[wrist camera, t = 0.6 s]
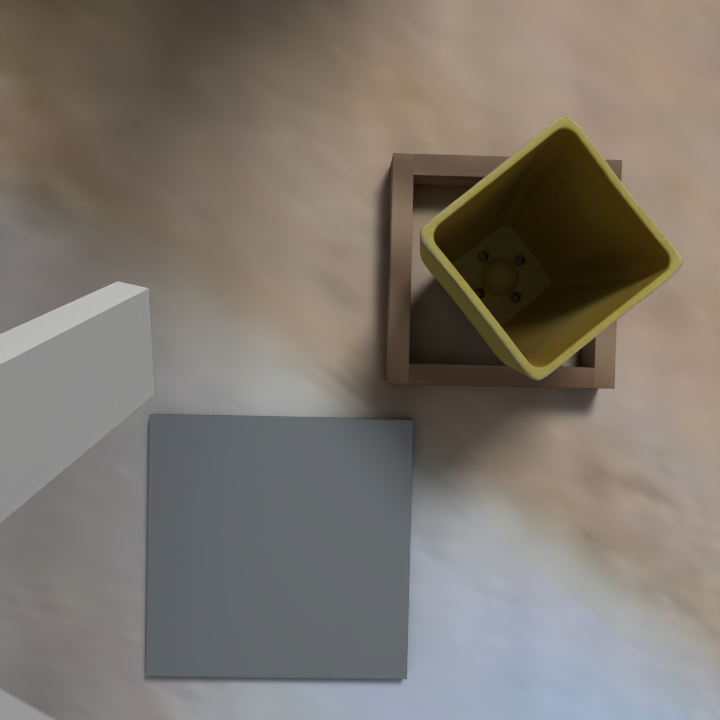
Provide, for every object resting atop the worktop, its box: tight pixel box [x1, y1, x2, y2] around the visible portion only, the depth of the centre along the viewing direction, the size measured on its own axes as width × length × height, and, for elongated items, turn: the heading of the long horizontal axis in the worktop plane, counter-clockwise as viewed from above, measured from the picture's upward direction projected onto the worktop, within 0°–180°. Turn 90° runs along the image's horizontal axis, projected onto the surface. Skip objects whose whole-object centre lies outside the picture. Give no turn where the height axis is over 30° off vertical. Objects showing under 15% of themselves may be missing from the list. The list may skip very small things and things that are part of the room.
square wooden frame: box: [386, 153, 622, 389], centre depth 31 cm, size 13×13×2 cm
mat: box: [146, 414, 413, 679], centre depth 32 cm, size 16×16×1 cm
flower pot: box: [420, 115, 683, 380], centre depth 27 cm, size 9×9×9 cm
